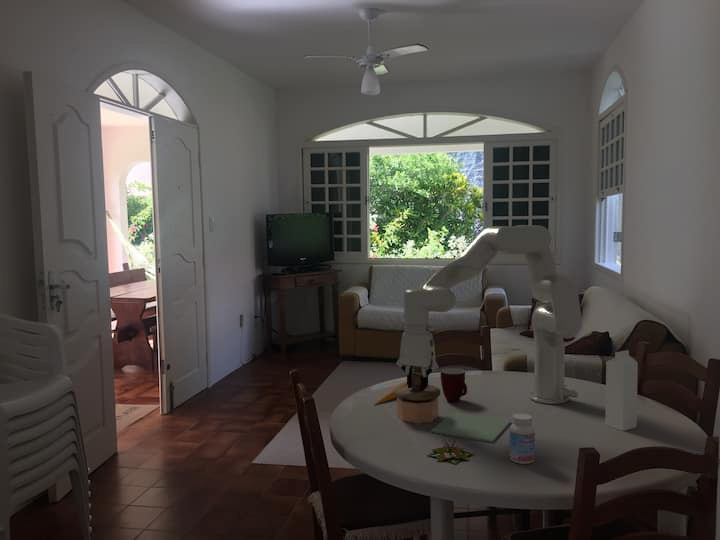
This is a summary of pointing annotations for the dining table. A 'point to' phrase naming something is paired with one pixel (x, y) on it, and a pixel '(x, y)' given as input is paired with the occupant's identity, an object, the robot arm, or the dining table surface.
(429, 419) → the bowl
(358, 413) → the dining table surface
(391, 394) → the carrot
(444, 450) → the lily flower
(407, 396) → the lid
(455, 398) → the mug
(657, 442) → the dining table surface
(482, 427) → the mat
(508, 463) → the dining table surface
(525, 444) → the pill bottle
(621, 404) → the milk
